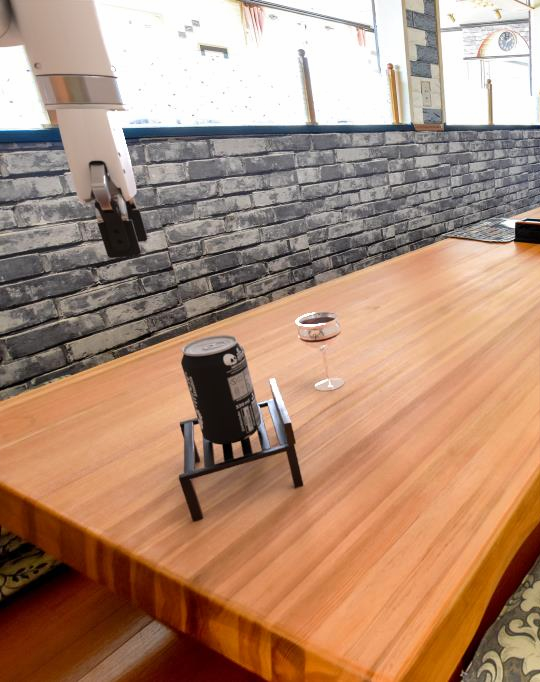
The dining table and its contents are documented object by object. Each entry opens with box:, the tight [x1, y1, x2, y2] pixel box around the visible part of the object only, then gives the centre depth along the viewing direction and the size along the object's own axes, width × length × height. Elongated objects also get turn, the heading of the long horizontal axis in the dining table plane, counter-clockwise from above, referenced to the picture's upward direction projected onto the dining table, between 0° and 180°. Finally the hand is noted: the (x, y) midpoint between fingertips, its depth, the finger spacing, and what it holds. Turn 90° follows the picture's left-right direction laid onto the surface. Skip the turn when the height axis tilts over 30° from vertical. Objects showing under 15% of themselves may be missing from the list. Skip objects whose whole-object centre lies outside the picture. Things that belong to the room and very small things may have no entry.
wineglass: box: [295, 311, 345, 392], centre depth 89 cm, size 7×7×12 cm
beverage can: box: [180, 334, 261, 446], centre depth 64 cm, size 7×7×12 cm
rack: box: [178, 378, 304, 522], centre depth 67 cm, size 12×14×9 cm
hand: (129, 248), depth 65 cm, fingers open, 9 cm apart
